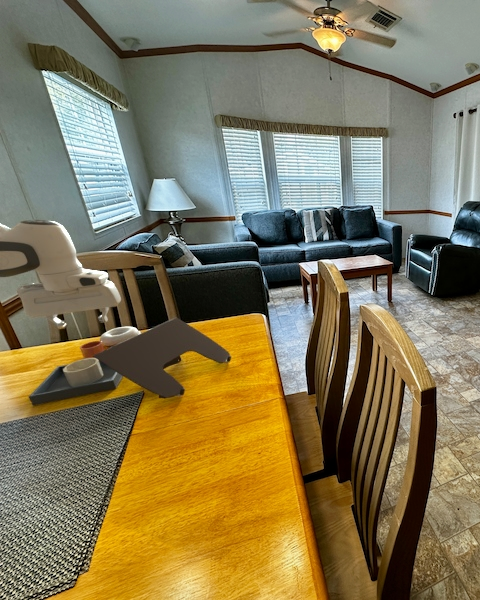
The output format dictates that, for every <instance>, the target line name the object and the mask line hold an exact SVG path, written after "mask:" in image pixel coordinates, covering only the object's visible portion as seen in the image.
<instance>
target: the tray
mask: <svg viewBox="0 0 480 600" xmlns="http://www.w3.org/2000/svg"><path fill="white" fill-rule="evenodd" d="M98 361H99V360H98ZM99 363H100V366H101V368H102V371H103V373H104V375H103V377H102V378H101V379H99V380H97V381H96V382H94V383H91V384H86V385H81V386H76V387H72V386H70V384H69V383H68V380H67V378H66V376H65V374H64V372H63V369H64V368H65V367H66V366H67V365H69V364H70V363H69V364H68V363H67V364H64V365H63V364H62V365H57V366H56V367H55V368H54V369H53V370H52V372H51V373H49V375H47V377H46V378H45V379H44V380H43V381H42V382H41V383H40V384H39V385H38V386H37V387H36V388H35V389H34V390H33V391H32V392H31V393H30V394H29V396H28V399H29V401H30V403H31V404H32V406H37V405H38V406H39V405H42V404H47V403H53V402H57V401H62V400H66V399H72V398H76V397H81V396H87V395H92V394H96V393H101V392H105V391H112V390H116V389H117V388H118V386H119V385H120V384H121V381H122V379H123V378H124V376H122V375H121V374H119V373H117V372H116V371H114V370H113V369H111V368H110V367H108V366H107V365H105V364H104V363H102V362H101V361H99Z"/></svg>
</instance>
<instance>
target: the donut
mask: <svg viewBox="0 0 480 600" xmlns="http://www.w3.org/2000/svg"><path fill="white" fill-rule="evenodd" d="M139 334H140V331H139V329H137V328H136V327H133V326H121V327H115V328H112V329H109V330H107V331H106V332H104V333H102V334H101V335H100V337H99V341H102V343H103V346H106V347H113V346H115V345H117V344H119V343H121V342H124V341H126V340H128V339H130V338H132V337H135V336H137V335H139Z"/></svg>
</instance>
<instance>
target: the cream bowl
mask: <svg viewBox="0 0 480 600" xmlns="http://www.w3.org/2000/svg"><path fill="white" fill-rule="evenodd" d="M66 365H67V366H66V367H65V368H64V369H63V372H64V374H65V376H66V378H67V380H68V383H69V384H70V386H72V387H76V386H81V385H86V384H91V383H94V382H96V381H97V380H99V379H101V378H102V377H103V375H104V373H103V371H102V368H101V366H100V363H99V361H98V359H96V358H87V359H84V358H82V359H77V360H76V361H73V362H71V363H69V365H68V364H66Z"/></svg>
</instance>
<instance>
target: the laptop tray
mask: <svg viewBox="0 0 480 600" xmlns="http://www.w3.org/2000/svg"><path fill="white" fill-rule="evenodd" d="M189 352H194V353H196V354H199V355H200V356H202V357H204V358H207V359H209V360H211V361H213V362H215V363H218V364H227V365H228V364H230V363H231V360H232V355H231V354H230V352H229V351H228V350H227V349H225V348H224V347H222V345H220V344H219V343H217V342H216V341H215V340H213V339H212V338H210V337H208V336H207V335H206V334H204V333H203V332H201V331H200V330H198V329H196V328H195V327H193V326H191V325H190V324H188V323H186V322H184V321H183V320H181V319H180V318H178V317H174V318H171V319H169V320H167V321H165V322H163V323H161V324H158V325H156V326H154V327H152V328H150V329H148V330H145V331H143V332H141V333H139V334H138V335H137V336H135V337H132V338H130V339H128V340H126V341H124V342H121V343H119V344H117V345H115V346H110V347H109V348H107V349H105V350H104V351H102V352H100V353H98V354H95V355H93V357H95V358H96V359H98V360H99V361H101V362H102V363H104V364H105V365H107V366H108V367H110V368H111V369H113V370H114V371H116V372H117V373H119V374H121V375H122V376H123V378H126V379H127V380H129V381H130V382H132V383H134V384H136V385H138V386H139V387H141V388H143V389H145V390H147V391H149V392H151V393H152V394H155V395H157V396H158V399H170V398H174V397H178V398H182V397H184V395H185V391H186V388H185V387H184V386H183V385H182V384H181V383H180V382H179V381H178V380H177V379H176V378H175V377H173V375H171V374H170V373H169V372H167V371H166V370H165V369H167V368H169V367H172V366H175V365H178V364H180V363H181V362H182V357H181V356H182V355H184V354H186V353H189Z"/></svg>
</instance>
